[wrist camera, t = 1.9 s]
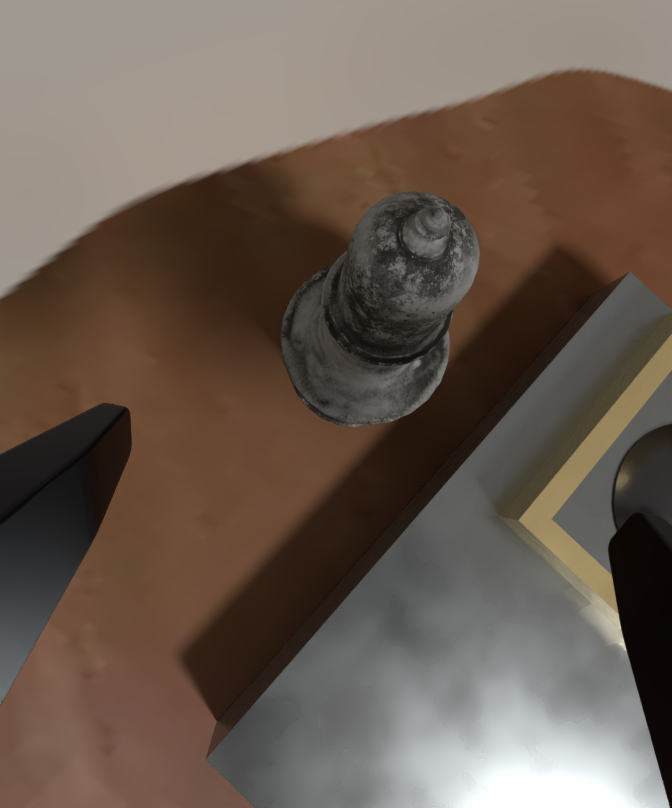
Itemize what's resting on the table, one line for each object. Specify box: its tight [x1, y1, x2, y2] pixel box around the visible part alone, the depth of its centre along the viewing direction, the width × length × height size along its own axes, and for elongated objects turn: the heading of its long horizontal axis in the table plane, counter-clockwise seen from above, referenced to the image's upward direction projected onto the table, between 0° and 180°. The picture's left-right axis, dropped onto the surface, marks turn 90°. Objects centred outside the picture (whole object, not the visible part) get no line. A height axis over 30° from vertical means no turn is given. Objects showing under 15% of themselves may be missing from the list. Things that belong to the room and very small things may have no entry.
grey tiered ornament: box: [280, 191, 480, 427], centre depth 15 cm, size 6×6×12 cm
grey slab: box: [206, 272, 672, 808], centre depth 18 cm, size 23×13×4 cm, turn 137°
